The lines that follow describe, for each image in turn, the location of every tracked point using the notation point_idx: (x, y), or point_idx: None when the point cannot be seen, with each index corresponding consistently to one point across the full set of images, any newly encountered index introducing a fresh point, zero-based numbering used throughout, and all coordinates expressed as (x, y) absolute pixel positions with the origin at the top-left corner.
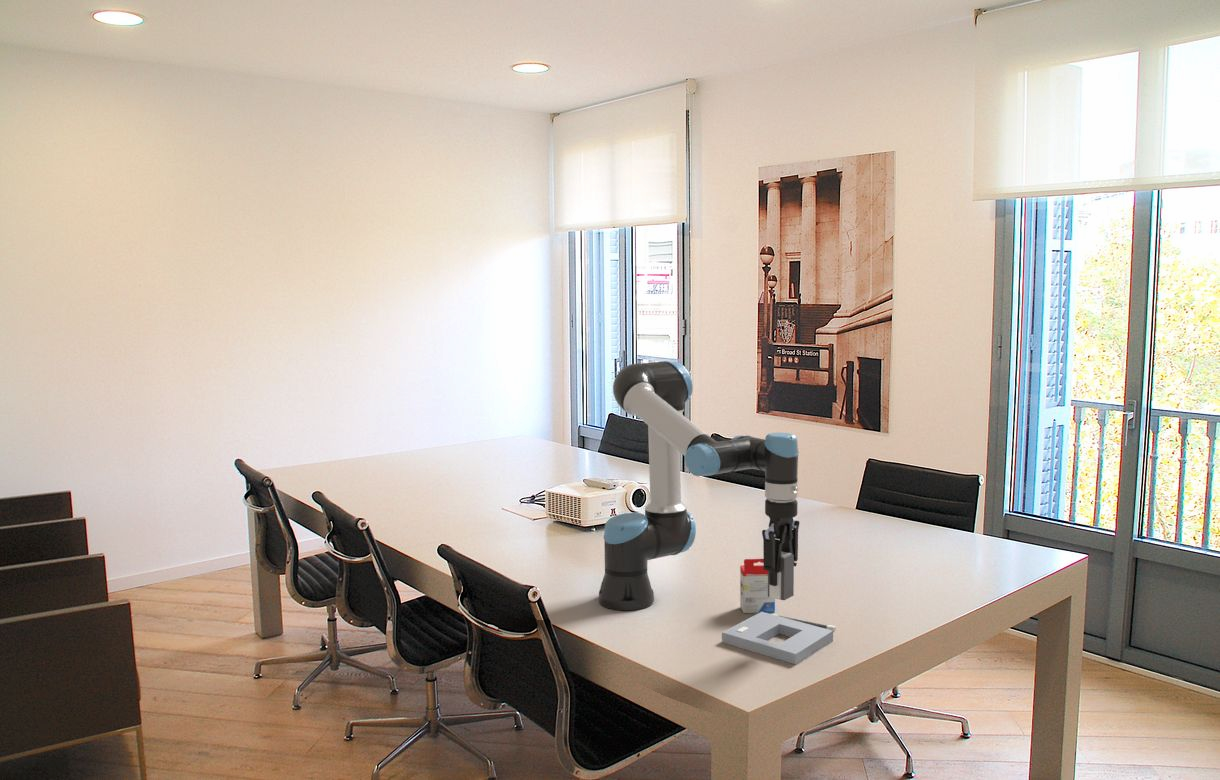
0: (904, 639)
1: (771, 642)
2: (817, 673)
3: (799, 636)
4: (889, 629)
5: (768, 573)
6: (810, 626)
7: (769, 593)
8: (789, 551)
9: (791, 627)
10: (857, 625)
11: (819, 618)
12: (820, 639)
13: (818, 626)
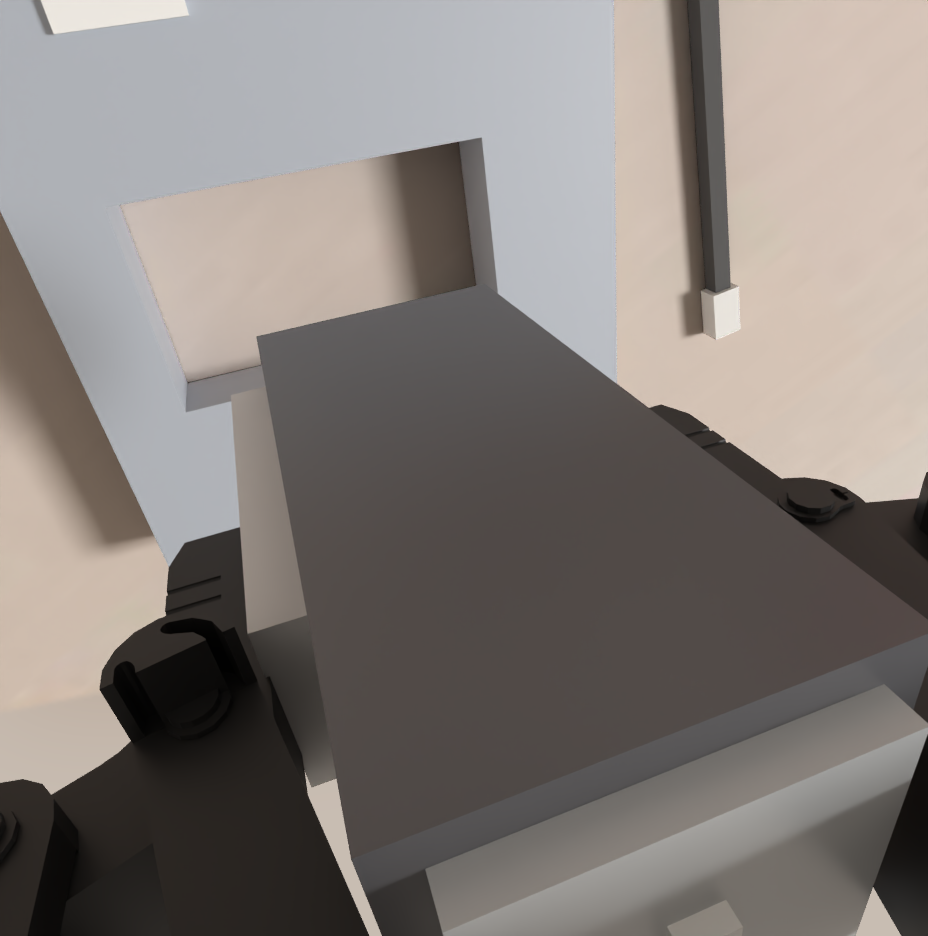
0: None
1: (155, 361)
2: None
3: None
4: (851, 461)
5: (288, 508)
6: (589, 320)
7: (233, 415)
8: (907, 933)
9: (492, 248)
10: (832, 348)
11: (834, 136)
12: None
13: (707, 239)
